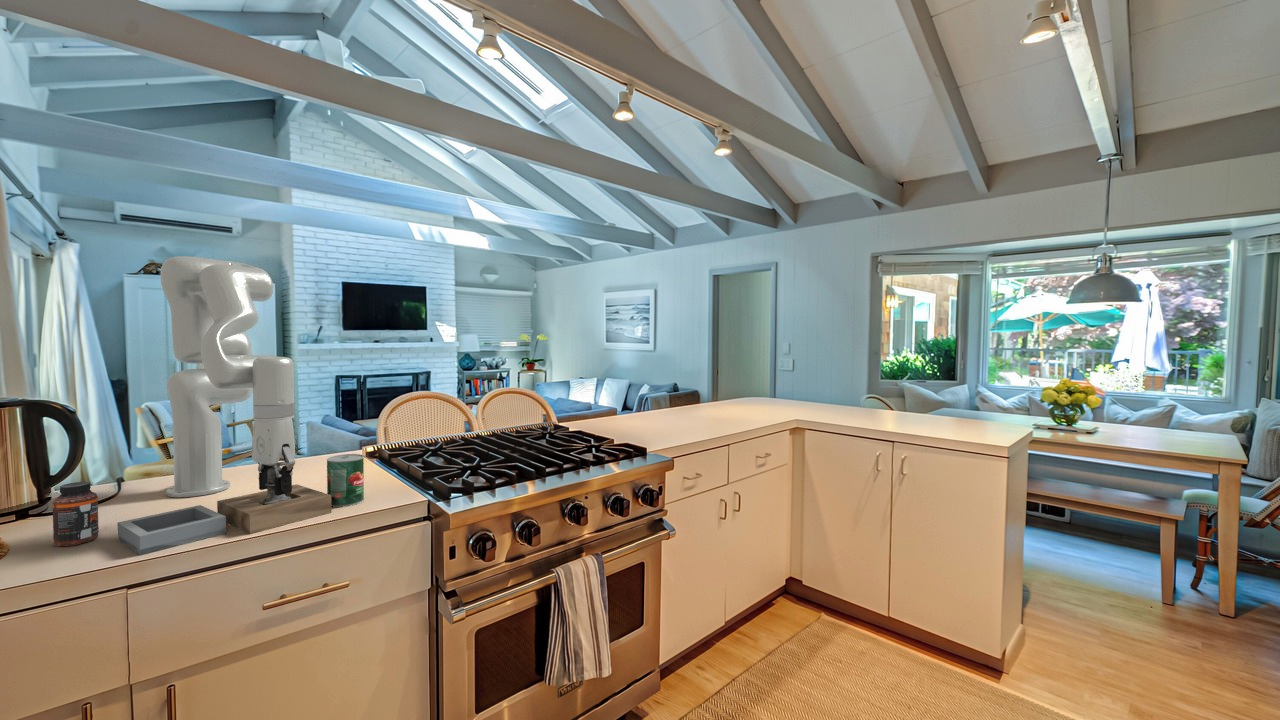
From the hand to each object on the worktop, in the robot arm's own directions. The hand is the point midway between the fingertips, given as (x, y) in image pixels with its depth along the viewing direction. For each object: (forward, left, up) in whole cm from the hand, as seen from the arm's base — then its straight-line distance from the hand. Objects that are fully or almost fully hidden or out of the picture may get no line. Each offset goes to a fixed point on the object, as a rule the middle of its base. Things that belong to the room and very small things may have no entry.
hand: (275, 490), depth 116 cm
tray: (-3, -17, -6) cm, 18 cm away
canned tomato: (+3, +14, -6) cm, 16 cm away
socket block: (0, 0, -6) cm, 6 cm away
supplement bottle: (-15, -28, -6) cm, 32 cm away
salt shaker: (0, 0, -6) cm, 6 cm away
